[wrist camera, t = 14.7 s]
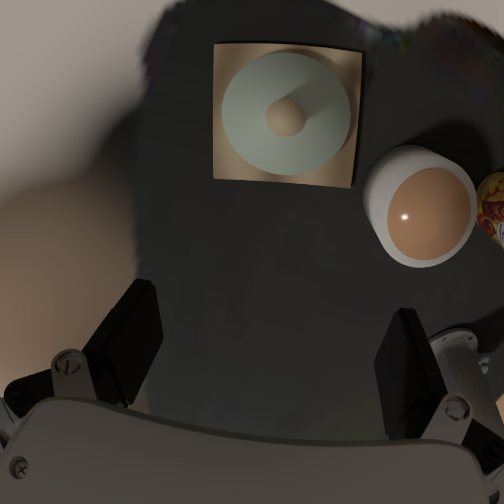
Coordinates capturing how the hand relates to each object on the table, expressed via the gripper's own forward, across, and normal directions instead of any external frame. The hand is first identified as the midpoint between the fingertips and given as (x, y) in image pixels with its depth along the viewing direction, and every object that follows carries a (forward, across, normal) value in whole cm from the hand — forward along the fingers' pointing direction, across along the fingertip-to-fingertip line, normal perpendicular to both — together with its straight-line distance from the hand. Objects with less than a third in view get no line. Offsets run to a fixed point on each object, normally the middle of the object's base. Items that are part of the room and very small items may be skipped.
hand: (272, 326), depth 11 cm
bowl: (+22, -14, 0) cm, 26 cm away
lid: (+21, +1, -7) cm, 22 cm away
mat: (+22, +1, -7) cm, 23 cm away
